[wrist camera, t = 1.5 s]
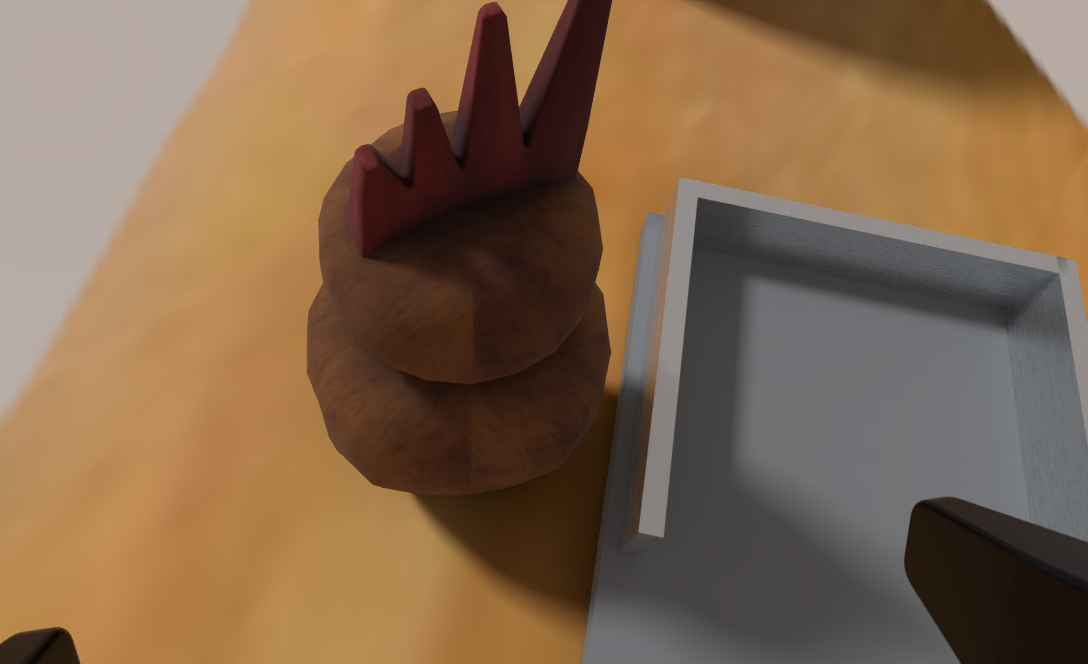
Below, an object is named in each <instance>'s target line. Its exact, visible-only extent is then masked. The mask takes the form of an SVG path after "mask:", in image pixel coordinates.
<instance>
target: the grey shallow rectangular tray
mask: <svg viewBox="0 0 1088 664" xmlns="http://www.w3.org/2000/svg"><path fill="white" fill-rule="evenodd" d="M946 496H950V497H956V498H959V499H962V500H965V501H968V502H971V503H974V504H977V505H980V506H983V507H986V508H989V509H992V510H995V511H998V512H1001V513H1004V514H1007V515H1010V516H1013V517H1016V518H1019V519H1021V520H1024V521H1027V522H1030V523H1033V524H1036V525H1039V526H1042V527H1045V528H1048V529H1051V530H1054V531H1057V532H1060V533H1063V534H1066V535H1069V536H1072V537H1075V538H1078V539H1081V540H1084V541H1086V542H1088V325H1087V319H1086V314H1085V308H1084V303H1083V297H1082V291H1081V286H1080V280H1079V275H1078V269H1077V263H1076V260H1072V259H1067V258H1062V257H1057V256H1053V255H1048V254H1043V253H1038V252H1034V251H1029V250H1024V249H1019V248H1015V247H1010V246H1005V245H1000V244H996V243H991V242H986V241H981V240H977V239H972V238H967V237H962V236H958V235H953V234H948V233H943V232H939V231H934V230H929V229H924V228H920V227H915V226H910V225H905V224H901V223H896V222H891V221H886V220H882V219H877V218H872V217H867V216H863V215H858V214H853V213H848V212H844V211H839V210H834V209H829V208H825V207H820V206H815V205H810V204H806V203H801V202H796V201H791V200H787V199H782V198H777V197H772V196H768V195H763V194H758V193H753V192H749V191H744V190H739V189H734V188H730V187H725V186H720V185H715V184H711V183H706V182H701V181H696V180H692V179H687V178H682V177H679V180H678V182H677V184H676V187H675V189H674V191H673V194H672V196H671V198H670V200H669V203H668V205H667V207H666V210H665V212H664V214H663V215H660V214H655V213H650V212H648V215H647V217H646V220H645V222H644V225H643V227H642V231H641V238H640V245H639V253H638V260H637V267H636V274H635V281H634V288H633V296H632V303H631V310H630V317H629V324H628V331H627V339H626V346H625V353H624V360H623V367H622V374H621V382H620V389H619V396H618V403H617V410H616V417H615V425H614V432H613V439H612V446H611V453H610V460H609V468H608V475H607V482H606V489H605V496H604V503H603V511H602V518H601V525H600V532H599V539H598V546H597V554H596V561H595V568H594V575H593V582H592V589H591V597H590V604H589V611H588V618H587V625H586V632H585V640H584V647H583V654H582V661H581V664H960V662H959V660H958V659H957V657H956V656H955V654H954V652H953V651H952V649H951V648H950V646H949V645H948V643H947V641H946V640H945V638H944V637H943V635H942V633H941V632H940V630H939V629H938V627H937V625H936V624H935V622H934V621H933V619H932V618H931V616H930V614H929V613H928V611H927V610H926V608H925V606H924V605H923V603H922V602H921V600H920V599H919V597H918V595H917V594H916V592H915V591H914V589H913V587H912V586H911V584H910V582H909V580H908V578H907V575H906V572H905V568H904V555H905V548H906V542H907V536H908V529H909V523H910V516H911V511H912V509H913V507H914V505H915V504H916V503H917V502H919V501H921V500H925V499H932V498H939V497H946Z"/></svg>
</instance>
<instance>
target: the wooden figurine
mask: <svg viewBox="0 0 1088 664" xmlns="http://www.w3.org/2000/svg"><path fill="white" fill-rule="evenodd" d="M611 4H612V0H568V1H567V4H566V6H565V8H564V10H563V12H562V15H561V17H560V19H559V21H558V23H557V26H556V28H555V30H554V32H553V34H552V37H551V39H550V41H549V43H548V45H547V48H546V50H545V52H544V54H543V56H542V58H541V61H540V63H539V65H538V67H537V69H536V72H535V74H534V76H533V78H532V80H531V83H530V85H529V87H528V89H527V91H526V94H525V96H524V98H523V100H522V102H521V105H520V107H519V105H518V98H517V90H516V83H515V76H514V68H513V61H512V53H511V46H510V38H509V31H508V23H507V16H506V15H505V13H504V12H503V10H502V9H501V7H500V6H499V5H498V3H497V2H492V3H489V4H485V5H484V6H482V7H481V9H480V10H479V12H478V16H477V21H476V26H475V31H474V36H473V40H472V45H471V50H470V55H469V60H468V65H467V69H466V74H465V79H464V84H463V89H462V94H461V98H460V103H459V108H458V111H452V112H446V113H441V114H439V111H438V109H437V106H436V105H435V103H434V101H433V100H432V98H431V96H430V95H429V93H428V91H427V90H426V89H425V88H419V89H416V90H413V91H411V92H410V93H409V94H408V96H407V102H406V111H405V121H404V124H402V125H400V126H397V127H395V128H393V129H390V130H388V131H387V132H386V133H385V134H383V135H382V136H381V137H380V138H379V139H377V140H376V141H375V142H373V143H372V144H371V145H369V144H366V145H363V146H360V147H359V148H358V149H357V150H356V151H355V155H354V158H352V159H351V160H350V161H348V162H347V163H346V164H345V166H344V168H343V169H342V171H341V172H340V174H339V175H338V177H337V178H336V180H335V182H334V183H333V185H332V186H331V188H330V189H329V191H328V193H327V194H326V196H325V197H324V200H323V204H322V208H321V212H320V216H319V220H318V221H319V254H320V266H321V272H322V278H323V284H322V286H321V288H320V290H319V292H318V294H317V296H316V298H315V300H314V301H313V303H312V305H311V307H310V309H309V314H308V326H307V374H308V377H309V379H310V382H311V384H312V387H313V389H314V392H315V394H316V397H317V399H318V402H319V404H320V408H321V411H322V415H323V418H324V421H325V425H326V428H327V432H328V435H329V438H330V439H331V441H332V443H333V444H334V446H335V448H336V449H337V451H339V452H340V453H341V454H342V455H343V456H344V457H345V458H346V459H347V460H348V461H349V462H350V463H351V464H352V465H353V466H354V467H355V468H356V469H357V470H358V471H359V472H360V473H361V474H362V475H363V476H364V477H366V478H367V479H368V480H369V481H370V482H371V483H372V484H373V485H376V486H379V487H382V488H387V489H393V490H398V491H404V492H410V493H415V494H421V495H426V496H433V495H470V494H476V493H482V492H488V491H494V490H500V489H506V488H511V487H513V486H516V485H519V484H521V483H524V482H526V481H529V480H532V479H534V478H537V477H539V476H542V475H545V474H547V473H550V472H552V471H555V470H557V469H559V468H562V466H563V465H564V464H565V462H566V461H567V459H568V458H569V457H570V455H571V454H572V452H573V451H574V450H575V448H576V447H577V445H578V444H579V442H580V441H581V440H582V438H583V437H584V435H585V434H586V433H587V431H588V430H589V428H590V427H591V425H592V423H593V422H594V420H595V418H596V417H597V415H598V411H599V407H600V403H601V399H602V394H603V389H604V384H605V379H606V374H607V369H608V364H609V359H610V355H611V349H610V342H609V336H608V328H607V320H606V312H605V304H604V296H603V293H602V291H601V290H600V289H599V287H598V286H597V284H596V283H595V281H596V277H597V274H598V270H599V266H600V261H601V256H602V251H603V246H602V239H601V232H600V225H599V218H598V211H597V206H596V201H595V197H594V192H593V188H592V187H591V186H590V185H589V183H588V182H587V181H586V180H585V179H584V177H583V176H582V175H581V174H580V173H579V171H578V167H579V162H580V158H581V154H582V149H583V145H584V141H585V136H586V132H587V128H588V123H589V117H590V112H591V107H592V102H593V97H594V92H595V86H596V81H597V76H598V71H599V66H600V61H601V55H602V50H603V45H604V40H605V35H606V29H607V24H608V19H609V14H610V9H611Z"/></svg>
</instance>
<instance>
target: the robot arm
mask: <svg viewBox="0 0 1088 664" xmlns="http://www.w3.org/2000/svg"><path fill="white" fill-rule="evenodd" d="M904 568H905V572H906V575H907V578H908V580H909V582H910V584H911V586H912V587H913V589H914V591H915V592H916V594H917V595H918V597H919V599H920V600H921V602H922V603H923V605H924V606H925V608H926V610H927V611H928V613H929V614H930V616H931V618H932V619H933V621H934V622H935V624H936V625H937V627H938V629H939V630H940V632H941V633H942V635H943V637H944V638H945V640H946V641H947V643H948V645H949V646H950V648H951V649H952V651H953V652H954V654H955V656H956V657H957V659H958V660H959V662H960V664H1088V542H1086V541H1084V540H1081V539H1078V538H1075V537H1072V536H1069V535H1066V534H1063V533H1060V532H1057V531H1054V530H1051V529H1048V528H1045V527H1042V526H1039V525H1036V524H1033V523H1030V522H1027V521H1024V520H1021V519H1019V518H1016V517H1013V516H1010V515H1007V514H1004V513H1001V512H998V511H995V510H992V509H989V508H986V507H983V506H980V505H977V504H974V503H971V502H968V501H965V500H962V499H959V498H956V497H950V496H946V497H939V498H932V499H925V500H921V501H919V502H917V503H916V504H915V505H914V507H913V509H912V511H911V516H910V523H909V529H908V536H907V542H906V548H905V555H904ZM0 664H80V661H79V657H78V654H77V651H76V648H75V645H74V642H73V639H72V637H71V635H70V633H69V632H68V631H67V630H66V629H64V628H61V627H52V628H46V629H39V630H32V631H25V632H20V633H17V634H14V635H13V636H11V637H9V638H8V639H7V640H5V641H4V642H2V643H1V644H0Z"/></svg>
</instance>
